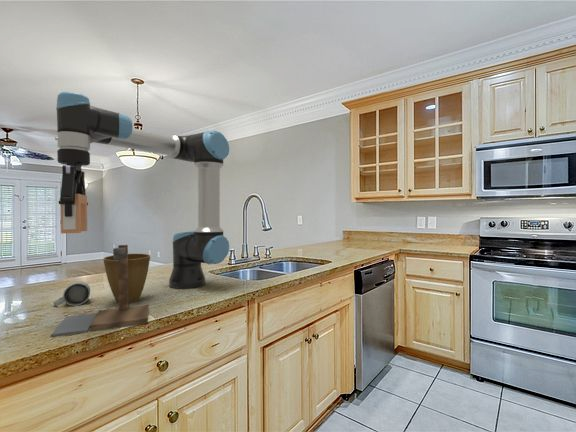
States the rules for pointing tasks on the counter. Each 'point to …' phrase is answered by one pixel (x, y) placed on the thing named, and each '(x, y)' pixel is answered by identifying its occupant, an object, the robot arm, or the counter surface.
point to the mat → (74, 325)
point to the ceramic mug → (74, 294)
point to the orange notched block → (77, 214)
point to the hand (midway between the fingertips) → (74, 228)
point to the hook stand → (121, 301)
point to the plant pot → (135, 275)
